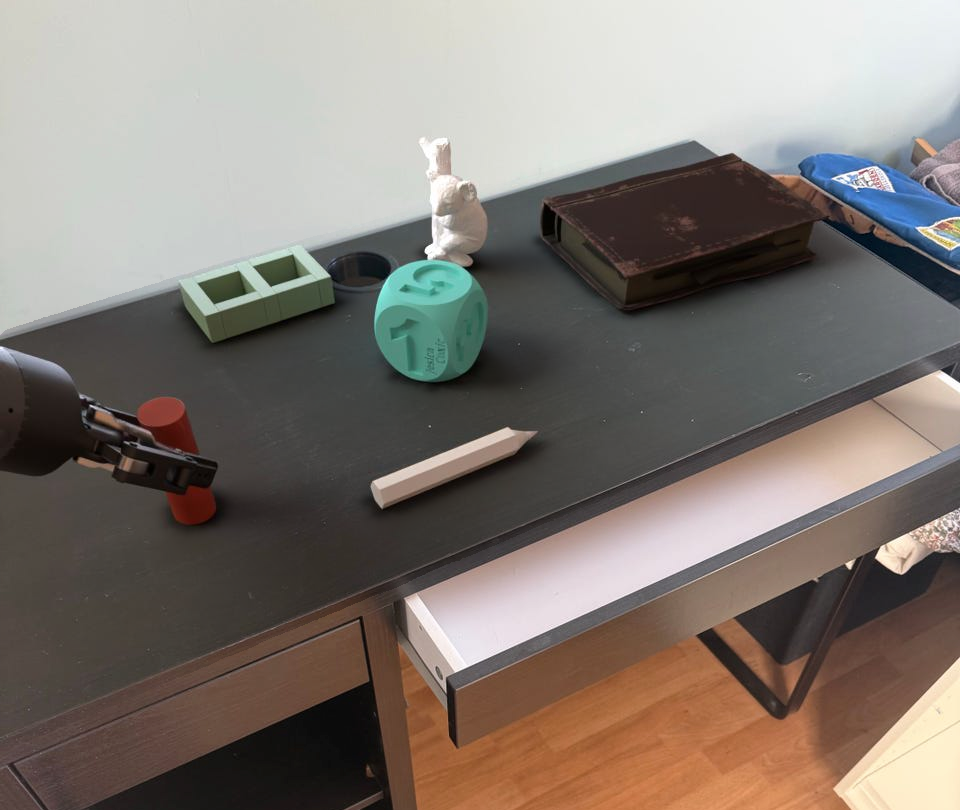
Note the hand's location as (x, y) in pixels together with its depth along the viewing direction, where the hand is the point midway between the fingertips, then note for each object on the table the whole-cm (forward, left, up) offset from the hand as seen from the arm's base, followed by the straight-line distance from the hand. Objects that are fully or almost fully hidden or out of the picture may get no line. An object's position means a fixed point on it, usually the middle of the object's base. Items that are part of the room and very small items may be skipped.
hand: (173, 452), depth 70 cm
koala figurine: (+3, +44, -6) cm, 45 cm away
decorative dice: (+9, +27, -6) cm, 29 cm away
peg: (0, 0, -6) cm, 6 cm away
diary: (+25, +56, -6) cm, 62 cm away
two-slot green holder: (-12, +28, -6) cm, 31 cm away
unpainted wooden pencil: (+18, +13, -6) cm, 24 cm away
